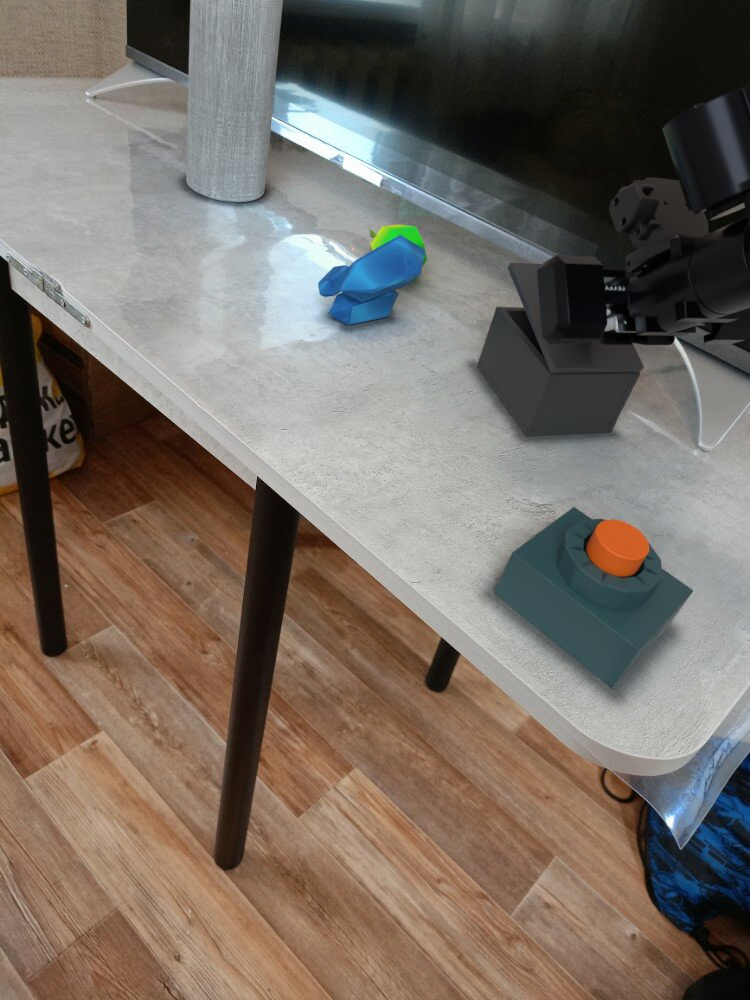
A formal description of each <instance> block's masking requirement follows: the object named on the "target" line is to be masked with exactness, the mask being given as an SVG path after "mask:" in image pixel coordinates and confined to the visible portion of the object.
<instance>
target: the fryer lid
mask: <svg viewBox="0 0 750 1000" xmlns="http://www.w3.org/2000/svg"><path fill="white" fill-rule="evenodd" d="M541 265H542V263H526V262H524V263H523V262H510V263H509V264H508V266H507V270H508V273H509V275H510V277H511V280H512V282H513V284H514V286H515V290H516V292H517V295H518V298H519V300H520V302H521V304H522V306H523V307H522V308H524V309H525V312H526V314H527V316H528V319H529V321H530V324H531V326H532V328H533V331H534V333H535V336H536V338H537V341H538V343H539V345H540V348H541V350H542V353H543V355H544V358H545V360H546V362H547V365H548V367H549V370H550V372H551V373H595V372H639V373H641V372H642V371H643V370H644V369H645V366H644V364H643V361H642V360H641V358H640V355H639V353H638V351H637V349H636V346H635V345H634V343H632V345H604V344H601V343H600V342H599V340H597V341H594V342H590V343H583V344H548V343H547V342H546V341H545V339H544V338H543V337H542V329H541V316H540V303H539V289H538V276H537V270H538V268H539V267H540V266H541Z"/></svg>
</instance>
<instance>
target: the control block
mask: <svg viewBox="0 0 750 1000" xmlns="http://www.w3.org/2000/svg"><path fill="white" fill-rule="evenodd" d="M605 520H606V519H604V518H594V519H593V518H591V517H589V515H586V514H585V513H584V512H583V511H581V510H580V509H578V508H577V507H575V506H572V507H571V508H570V509H568V510H567V511H566V512H565V513H563V514H562V515H561V516H559V517H558V518H557V519H555V520H554V521H553V522H551V523H550V524H548V525H547V526H546V527H544V528H543V529H542V530H540V531H539V532H538V533H536V534H535V535H534V536H532V537H531V538H530V539H528V540H527V541H526V542H524V543H523V544H522V545H520V546H519V547H517V549H515V550H514V551H512V552H511V554H510V557H509V559H508V560H507V562H506V565H505V567H504V569H503V572H502V574H501V576H500V579H499V580H498V582H497V585H496V587H495V590H494V591H493V593H494V595H496V596H497V597H499V599H501V600H502V601H503V602H504V603H506V604H507V605H508V606H509V607H510V608H512V609H513V610H515V611H516V612H517V613H518V614H519V615H521V616H522V617H523V618H524V619H525V620H527V621H528V622H529V623H531V624H532V625H533V626H534V627H535V628H536V629H538V630H539V631H541V632H542V633H543V634H544V635H545V636H547V637H548V638H549V639H550V640H551V641H553V642H554V643H555V644H557V645H558V646H559V647H561V648H562V649H563V650H564V651H565V652H566V653H567V654H569V655H570V656H571V657H573V658H574V659H575V660H576V661H578V663H580V664H582V665H583V666H584V667H585V668H586V669H587V670H589V671H590V672H591V673H592V674H594V675H595V676H596V677H597V678H599V679H600V680H601V681H603V682H604V683H605V684H606V685H607V686H609V687H610V688H611V689H612V688H614V687H615V686H616V685H617V683H618V682H619V681H620V680H621V679H622V678H623V677H624V676H625V675H626V673H627V672H628V671H630V669H631V668H632V667H633V666H634V665H635V664H636V663H637V662H638V661H639V659H640V658H642V656H644V654H645V653H646V652H647V651H648V650H649V649H650V647H652V645H654V643H655V642H656V641H657V640H658V638H659V637H660V636H661V635H662V634H663V633H664V632H665V631H666V630H667V629H668V627H669V626H670V624H671V623H672V622H673V620H674V619H675V617H676V616H677V615H678V614H679V612H680V611H681V609H682V608H683V607H684V605H685V604H686V602H687V601H688V599H690V596H691V595H692V594H693V592H694V590H693V588H691V587H689V586H688V585H686V584H685V583H684V582H683V581H681V580H680V579H678V578H677V577H675V576H674V575H672V574H671V573H670V572H668V571H667V570H665V569H664V568H663V567H662V559H661V558H660V555H658V553H657V552H656V550H654V548H653V547H652V545H651V543H650V542H649V541H648V543H649V553H648V555H647V556H646V558H645V559H644V561H643V563H642V564H641V566H640V567H639V569H638V571H637V572H636V573H635V574H633V575H631V576H627V577H618V576H615V575H611V574H608V573H606V572H604V571H603V570H601V569H600V568H598V567H597V566H596V565H594V564H593V562H592V561H591V560H590V559H589V557H588V555H587V551H586V547H587V543H588V541H589V540H590V538H591V536H592V534H593V532H594V530H595V528H596V527H597V525H598V524H599V523H601V522H602V521H605Z"/></svg>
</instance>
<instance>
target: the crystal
mask: <svg viewBox="0 0 750 1000" xmlns="http://www.w3.org/2000/svg"><path fill="white" fill-rule="evenodd" d="M425 252H426V249H425V250H424V249H423V248H421V247H419V246H418V245H416V244H415V243H413V242H411V241H410V240H408V239H407V238H405V237H404V236H402V235H399V236H397V237H396V238H394V239H392V240H390V241H389V242H387V243H385V244H383V245H381V246H380V247H378V248H376V249H374V250H373V251H372V250H371V251H369V252H367V253H365V254H364V255H362V256H360V257H359V258H357V259H355V260H354V261H353V262H352V263H351V264H350V265H349V266H348V265H347V264H343V265H335V266H333V267H332V268H331V269H330V270H329V271H328V272H327V273H326V274H325V275H324V276H323V277H322V278H321V279H320V280H319V281H318V282H317V285H318V292H319V293H318V294H319V295H320V296H322V297H323V298H328V297H329V298H330V297H335V298H334V300H333V301H332V302H333V303H332V305H331V307H330V310H329V311H328V315H329V316H331V317H333V318H334V319H336V320H338V321H340V322H341V323H342V324H344V325H346V326H351V325H352V326H353V325H356V324H362V323H366V322H370V321H375V320H380V319H385V318H388V317H389V316H390V315H391V312H392V310H393V307H394V305H395V303H396V300H397V299H398V296H399V294H400V293H399V292H398V291H397V290H398V289H400V288H403V287H405V286H407V285H409V284H410V283H411V282H412V281H414V280H415V279H416V278H418V277H419V276H420V275H421V274H422V270H423V267H422V265H423V260H424V255H425ZM423 266H424V265H423Z"/></svg>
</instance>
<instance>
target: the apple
mask: <svg viewBox="0 0 750 1000" xmlns="http://www.w3.org/2000/svg"><path fill="white" fill-rule="evenodd" d="M368 229H369V230H368V231H369V236H370V238H373V239H372V240H371V243H370V249H371V251H373V250H374V249H376V248H378V247H380V246H381V245H383V244H385V243H387V242H389V241H390V240H392V239H394V238H396V237H397V236H399V235H402V236H404V237H405V238H407V239H408V240H410V241H411V242H413V243H415V244H416V245H418V246H419V247H421V248H423V249H424V250H425V255H424V260H423V265H422V268H423V267H424V265H425V264H426V263H427V261H428V258H427V253H426V247H425V243H424V241H423V239H422V236H421V235H420V234H421V233H420V232H419V229H418V228H417V226H416V225H415V226H414V225H407V224H398V223H397V224H390V225H382V226H381V227H380V229H379V230H378V232H377V233H376V232H375V231H374V230H373V229H372V228H370V227H368Z"/></svg>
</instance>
